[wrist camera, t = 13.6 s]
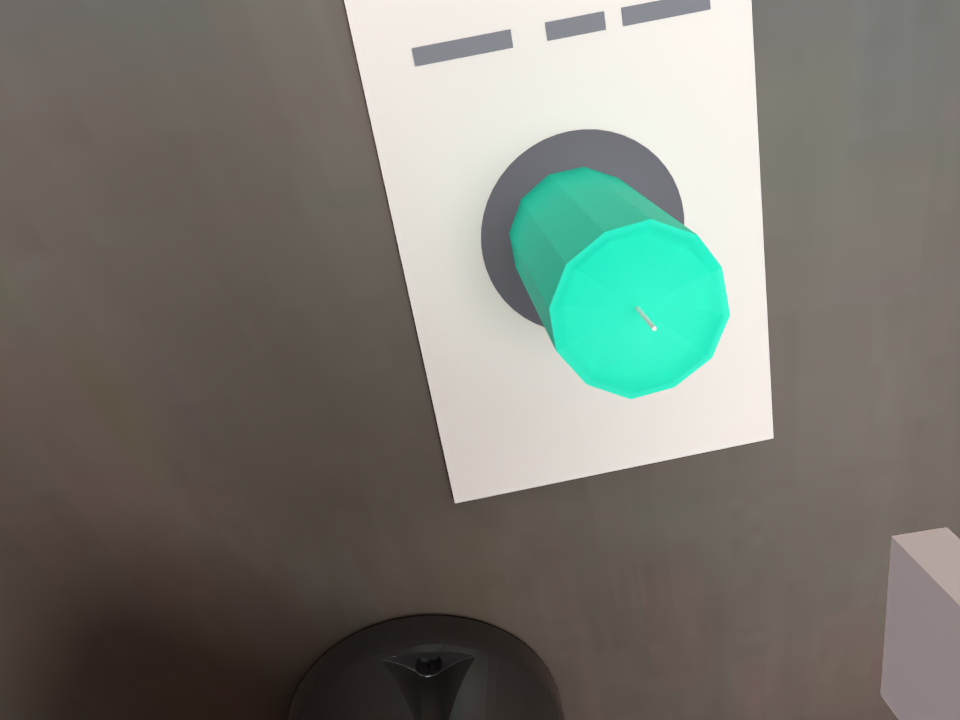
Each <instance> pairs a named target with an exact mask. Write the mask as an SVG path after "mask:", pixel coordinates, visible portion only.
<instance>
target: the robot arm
mask: <svg viewBox="0 0 960 720" xmlns="http://www.w3.org/2000/svg"><path fill="white" fill-rule="evenodd" d="M881 696H882V698H883V699H884V700H885V702H886V703H887V704H888V706H889V707H890V708H891V710H892V711H893V713H894V714H895V715H896V717H897V718H898V719H899V720H960V539H959V538H958V537H957V536H956V535H954V534H953V533H952V532H951V531H950V530H949V529H948V528H947V527H945V528H939V529H933V530H927V531H921V532H915V533H908V534H902V535H896V536H892V538H891V552H890V567H889V581H888V595H887V609H886V624H885V638H884V652H883V667H882V681H881ZM288 720H565V718H564V713H563V709H562V705H561V701H560V697H559V693H558V690H557V687H556V684H555V682H554V679H553V677H552V676H551V674H550V672H549V670H548V669H547V667H546V666H545V664H544V663H543V662H542V661H541V659H540V658H539V657H538V656H537V655H536V654H535V653H534V652H533V651H532V650H531V649H530V648H529V647H527V646H526V645H525V644H524V643H522V642H521V641H520V640H518V639H517V638H515V637H513V636H512V635H510V634H508V633H506V632H504V631H502V630H500V629H498V628H496V627H493V626H490V625H488V624H485V623H481V622H478V621H474V620H470V619H465V618H459V617H451V616H417V617H408V618H402V619H397V620H393V621H388V622H385V623H381V624H378V625H375V626H373V627H370V628H367V629H365V630H363V631H360V632H358V633H356V634H354V635H352V636H350V637H349V638H347V639H345V640H344V641H342V642H340V643H339V644H337V645H336V646H335V647H333V648H332V649H331V650H329V651H328V652H327V653H326V654H324V655H323V656H322V657H321V658H320V659H319V660H318V661H317V662H316V663H315V664H314V665H313V666H312V668H311V669H310V670H309V671H308V673H307V674H306V675H305V677H304V678H303V680H302V681H301V683H300V685H299V686H298V688H297V690H296V692H295V695H294V697H293V700H292V703H291V706H290V710H289V714H288Z"/></svg>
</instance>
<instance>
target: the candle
mask: <svg viewBox="0 0 960 720" xmlns="http://www.w3.org/2000/svg"><path fill="white" fill-rule="evenodd" d="M509 236H510V241H511V246H512V252H513V257H514V262H515V267H516V269H517V271H518V273H519V276H520V278H521V280H522V282H523V284H524V286H525V288H526V290H527V292H528V294H529V296H530V298H531V300H532V302H533V304H534V306H535V309H536V311H537V313H538V315H539V317H540V319H541V321H542V323H543V325H544V327H545V329H546V331H547V333H548V335H549V337H550V339H551V342H552V344H553V346H554V348H555V350H556V352H557V353H558V354H559V355H560V356H561V357H562V358H563V359H564V360H565V362H566V363H567V364H568V365H569V366H570V367H571V368H572V369H573V370H574V371H575V372H576V374H577V375H578V376H579V377H580V378H581V379H582V380H583V381H584V382H585V383H586V385H589V386H592V387H595V388H598V389H601V390H604V391H607V392H610V393H613V394H616V395H619V396H622V397H625V398H628V399H634V398H638V397H641V396H645V395H649V394H652V393H656V392H659V391H663V390H667V389H670V388H674V387H676V386H677V385H678V384H679V383H681V382H682V381H683V380H685V379H686V378H687V377H688V376H690V375H691V374H692V373H694V372H695V371H696V370H697V369H699V368H700V367H701V366H703V365H704V364H705V363H706V362H708V361H709V360H710V359H712V357H713V354H714V352H715V350H716V347H717V345H718V343H719V340H720V338H721V335H722V333H723V331H724V328H725V326H726V324H727V321H728V319H729V317H730V311H729V305H728V299H727V293H726V287H725V281H724V276H723V270H722V266H721V265H720V264H719V263H718V261H717V260H716V259H715V257H714V256H713V255H712V253H711V252H710V251H709V249H708V248H707V247H706V245H705V244H704V243H703V241H702V240H701V239H700V237H699V236H698V235H697V234H696V233H694V232H693V231H691V230H690V229H689V228H687V227H686V226H684V225H683V224H682V223H680V222H679V221H677V220H676V219H675V218H673V217H672V216H670V215H669V214H668V213H666V212H665V211H663V210H662V209H661V208H659V207H658V206H656V205H655V204H654V203H652V202H651V201H649V200H648V199H647V198H645V197H644V196H643V195H641V194H640V193H638V192H637V191H636V190H634V189H633V188H631V187H630V186H629V185H627V184H626V183H624V182H623V181H622V180H620V179H619V178H617V177H614V176H611V175H608V174H605V173H602V172H599V171H596V170H593V169H590V168H587V167H580V168H576V169H571V170H567V171H562V172H558V173H553V174H549V175H548V176H546V177H545V178H544V179H543V180H542V181H541V182H540V183H539V184H537V185H536V186H535V187H534V188H533V189H532V190H531V191H530V192H529V193H527V194H526V195H525V196H524V197H523V198H522V199H521V200H520V203H519V206H518V209H517V212H516V215H515V218H514V221H513V224H512V226H511V229H510V232H509Z"/></svg>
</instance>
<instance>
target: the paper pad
mask: <svg viewBox="0 0 960 720" xmlns="http://www.w3.org/2000/svg"><path fill="white" fill-rule="evenodd" d="M344 2H345V7H346V11H347V16H348V20H349V25H350V30H351V34H352V39H353V43H354V48H355V52H356V57H357V61H358V66H359V70H360V75H361V80H362V84H363V89H364V93H365V98H366V102H367V107H368V111H369V116H370V120H371V125H372V129H373V134H374V139H375V143H376V148H377V152H378V157H379V161H380V166H381V170H382V175H383V179H384V184H385V188H386V193H387V198H388V202H389V207H390V211H391V216H392V220H393V225H394V229H395V234H396V238H397V243H398V247H399V252H400V257H401V261H402V266H403V270H404V275H405V279H406V284H407V288H408V293H409V297H410V302H411V307H412V311H413V316H414V320H415V325H416V329H417V334H418V338H419V343H420V347H421V352H422V356H423V361H424V366H425V370H426V375H427V379H428V384H429V388H430V393H431V397H432V402H433V406H434V411H435V415H436V420H437V425H438V429H439V434H440V438H441V443H442V447H443V452H444V456H445V461H446V465H447V470H448V474H449V479H450V484H451V488H452V493H453V497H454V502H455V503H460V502H465V501H470V500H475V499H480V498H484V497H489V496H494V495H499V494H504V493H509V492H514V491H519V490H523V489H528V488H533V487H538V486H543V485H548V484H553V483H558V482H562V481H567V480H572V479H577V478H582V477H587V476H592V475H597V474H602V473H606V472H611V471H616V470H621V469H626V468H631V467H636V466H641V465H645V464H650V463H655V462H660V461H665V460H670V459H675V458H680V457H684V456H689V455H694V454H699V453H704V452H709V451H714V450H719V449H724V448H728V447H733V446H738V445H743V444H748V443H753V442H758V441H763V440H767V439H772V438H773V420H772V400H771V380H770V360H769V341H768V321H767V301H766V281H765V262H764V242H763V222H762V202H761V183H760V163H759V143H758V123H757V103H756V84H755V64H754V44H753V24H752V5H751V0H344ZM580 167H587V168H590V169H593V170H596V171H599V172H602V173H605V174H608V175H611V176H614V177H617V178H619V179H620V180H622V181H623V182H624V183H626V184H627V185H629V186H630V187H631V188H633V189H634V190H636V191H637V192H638V193H640V194H641V195H643V196H644V197H645V198H647V199H648V200H649V201H651V202H652V203H654V204H655V205H656V206H658V207H659V208H661V209H662V210H663V211H665V212H666V213H668V214H669V215H670V216H672V217H673V218H675V219H676V220H677V221H679V222H680V223H682V224H683V225H684V226H686V227H687V228H689V229H690V230H691V231H693V232H694V233H696V234H697V235H698V236H699V237H700V239H701V240H702V241H703V243H704V244H705V245H706V247H707V248H708V249H709V251H710V252H711V253H712V255H713V256H714V257H715V259H716V260H717V261H718V263H719V264H720V265H721V266H722V270H723V276H724V281H725V287H726V293H727V299H728V305H729V311H730V317H729V319H728V321H727V324H726V326H725V328H724V331H723V333H722V335H721V338H720V340H719V343H718V345H717V347H716V350H715V352H714V354H713V357H712V359H710V360H709V361H708V362H706V363H705V364H704V365H703V366H701V367H700V368H699V369H697V370H696V371H695V372H694V373H692V374H691V375H690V376H688V377H687V378H686V379H685V380H683V381H682V382H681V383H679V384H678V385H677V386H676V387H674V388H670V389H667V390H663V391H659V392H656V393H652V394H649V395H645V396H641V397H638V398H634V399H628V398H625V397H622V396H619V395H616V394H613V393H610V392H607V391H604V390H601V389H598V388H595V387H592V386H589V385H586V383H585V382H584V381H583V380H582V379H581V378H580V377H579V376H578V375H577V374H576V372H575V371H574V370H573V369H572V368H571V367H570V366H569V365H568V364H567V363H566V362H565V360H564V359H563V358H562V357H561V356H560V355H559V354H558V353H557V352H556V350H555V348H554V346H553V344H552V342H551V339H550V337H549V335H548V333H547V331H546V329H545V327H544V325H543V323H542V321H541V319H540V317H539V315H538V313H537V311H536V309H535V306H534V304H533V302H532V300H531V298H530V296H529V294H528V292H527V290H526V288H525V286H524V284H523V282H522V280H521V278H520V276H519V273H518V271H517V269H516V267H515V262H514V257H513V252H512V246H511V241H510V236H509V232H510V229H511V226H512V224H513V221H514V218H515V215H516V212H517V209H518V206H519V203H520V200H521V199H522V198H523V197H524V196H525V195H526V194H527V193H529V192H530V191H531V190H532V189H533V188H534V187H535V186H536V185H537V184H539V183H540V182H541V181H542V180H543V179H544V178H545V177H546V176H548V175H549V174H553V173H558V172H562V171H567V170H571V169H576V168H580Z"/></svg>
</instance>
